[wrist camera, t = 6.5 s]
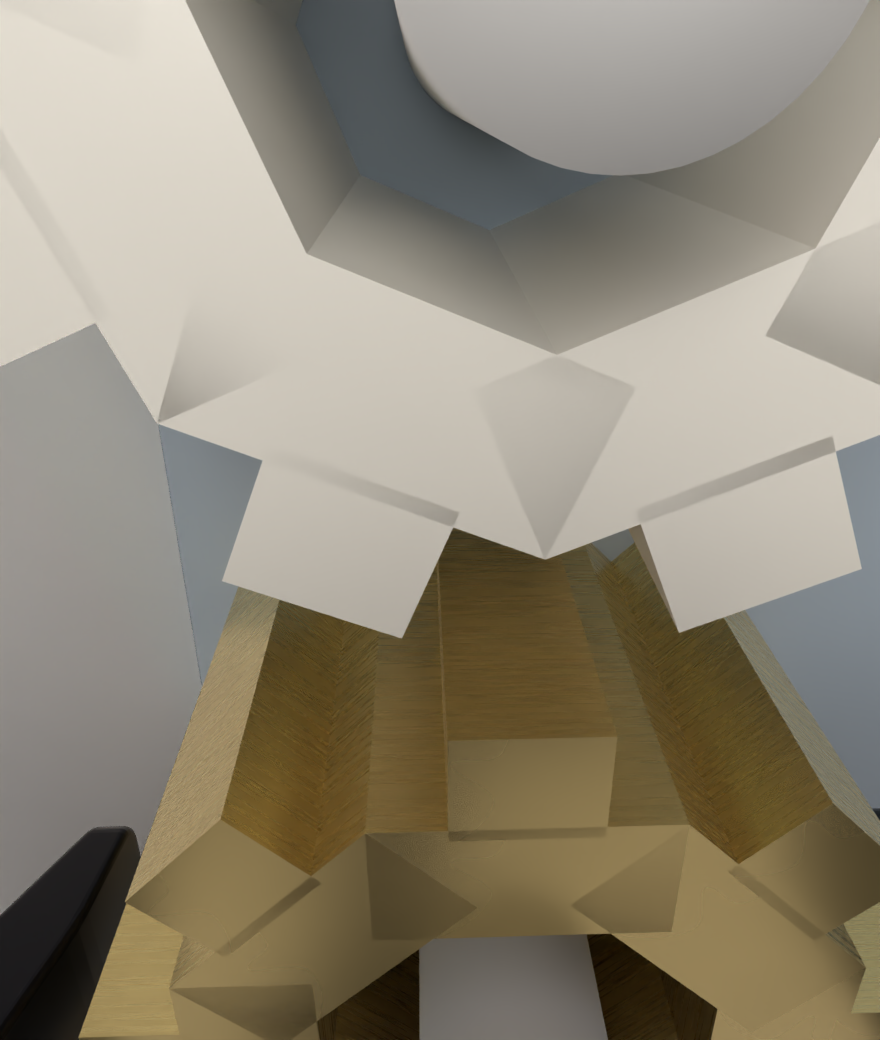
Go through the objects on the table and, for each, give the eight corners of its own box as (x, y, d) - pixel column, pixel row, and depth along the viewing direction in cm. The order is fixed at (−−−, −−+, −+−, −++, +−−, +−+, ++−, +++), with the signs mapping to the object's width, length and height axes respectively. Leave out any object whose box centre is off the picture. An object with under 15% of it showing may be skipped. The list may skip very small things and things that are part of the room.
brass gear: (795, 463, 9) (1066, 725, 6) (710, 895, 13) (845, 1259, 9) (167, 474, 9) (-16, 752, 5) (240, 909, 12) (159, 1283, 9)
